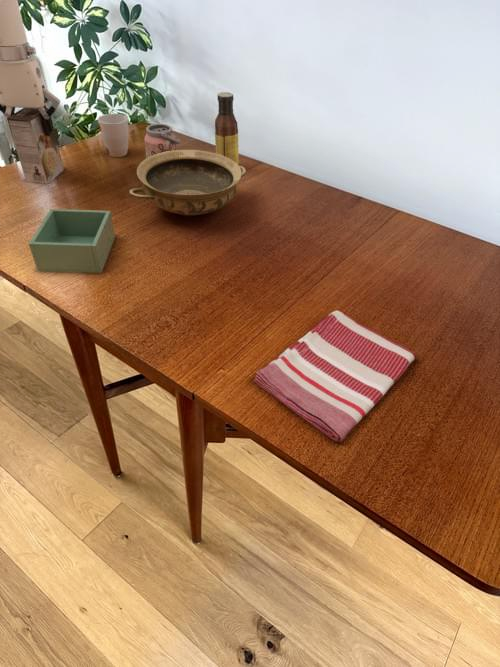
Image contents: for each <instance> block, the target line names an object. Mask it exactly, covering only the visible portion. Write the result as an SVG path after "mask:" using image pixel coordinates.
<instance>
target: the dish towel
mask: <svg viewBox="0 0 500 667" xmlns="http://www.w3.org/2000/svg"><path fill="white" fill-rule="evenodd" d="M416 358H417V356H416V353H415V352H414V351H412V350H411V349H409V348H407V347H405V346H404V345H402V344H400V343H398V342H395V341H393V340H392V339H390V338H388V337H387V336H385V335H383V334H382V333H379V332H377V331H375V330H374V329H372V328H369V327H368V326H367V325H364V324H362V323H359V322H358V321H357V320H355V319H354V318H352V317H350V316H349V315H347V314H345V313H344V312H342V311H340V310H338V309H337V310H334V311H332V312H331V313H330V314H328V315H326V316H325V317H324V318H322V319H321V320H320V321H319V322H318V323H316V325H314V326H313V327H311V329H310V330H309V331H308V332H307V333H306V334H305V335H304V336H302V337H301V338H300V339H298V340H297V341H295V342H294V343H293V344H291V345H290V346H288V347H287V348H286V349H285V350H284V351H283V352H282V353H281V354H279V355H278V356H277V357H276V358H275V359H274V360H272V361H271V362H269V363H268V364H267V365H266V366H264V367H262V368H261V369H259V370H257V371H255V378H254V379H253V383H255V384H256V385H257V386H258V387H259V388H261V389H262V390H264V391H265V392H266V393H267V394H269V395H271V397H273V398H275V399H276V400H277V401H279V402H280V403H281V404H282V405H284V406H285V407H286V408H288V409H289V410H290V411H292V412H293V413H295V415H296V416H299V417H300V418H301V419H304V421H306V422H307V423H309V424H310V425H311V426H312V427H314V428H316V429H317V430H318V431H320V432H321V433H323V434H324V435H325V436H327V437H328V438H329V439H330V440H332V441H334V442H337V443H341V442H342V441H343V440H345V438H346V437H347V435H348V434H349V433H350V432H351V431H352V430H353V429H354V428H355V427H356V426H357V425H358V424H359V422H361V420H362V419H363V418H364V417H365V416H367V414H368V413H369V412H370V411H371V409H373V408H374V407H375V406H376V404H378V402H379V401H381V400H382V398H383V397H384V396H385V394H386V393H387V392H388V391H389V389H390V388H391V387H392V386H393V385H394V384H396V382H397V381H398V380H399V379H400V378H401V377H403V374H405V372H406V371H407V370H408V368H409V367H410V365H411V364H412V363H413V362H414V361H415V360H416Z"/></svg>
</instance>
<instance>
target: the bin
mask: <svg viewBox="0 0 500 667" xmlns="http://www.w3.org/2000/svg"><path fill="white" fill-rule="evenodd" d="M113 222H114V221H113V218H112V212H111V210H99V209H98V210H96V209H95V210H94V209H66V208H65V209H64V208H50V209H49V210H48V212H47V214H46V215H45V216H44V218H43V220H42V221H41V223H40V225H39V226H38V228H37V230H36V231H35V233H33V236H32V238H31V239H30V241H29V242H28V246H29V249H30V252H31V255H32V259H33V262H34V264H35V267H36V271H37V272H57V273H85V274H86V273H91V274H102V272H103V270H104V267H105V265H106V262H107V260H108V257H109V255H110V252H111V249H112V247H113V243H114V241H115V238H116V234H115V228H114V223H113Z"/></svg>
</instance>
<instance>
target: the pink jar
mask: <svg viewBox="0 0 500 667" xmlns="http://www.w3.org/2000/svg"><path fill="white" fill-rule="evenodd" d="M145 131H146V134H145V136H144V139H143V140H144V149H145V159H146V158H148V157H150V156H152V155H155V154H158V153H162V152H166V151H174V150H177V145H180V144H181V139H180V138H179V137H177V136H176V135H175V134H174V133H173V127H172V126H171V125H169V124H166V123H150V125H148V126H146V128H145Z"/></svg>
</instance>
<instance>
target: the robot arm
mask: <svg viewBox="0 0 500 667" xmlns="http://www.w3.org/2000/svg"><path fill="white" fill-rule="evenodd" d="M33 55H37V49H36V47H35V46H34V47H33V46H31V45H30V43H29V41H28V38H27V34H26V30H25V25H24V20H23V18H22V13H21V10H20V6H19V1H18V0H0V112H1V113H2V114H4V116H5V117H6V119H7V118H8V117H9V116H11V115H13V114H14V113H16V112H15V111H16V108H20V109H23V108H37V109H38V110H39V112H40V113H41V114H42V116H43V117H44V119H43V125H44V129H45V133H46V136H50V135H51V134H52V133H53V131H55V128H54V123H53V120H52V116H53V114H54V113H55V112H56V110H57V108H58V107H59V105H60V104H61V100H60V99H59V98H58V97H57V96H56V95H54V94H53V93H51V92H50V91H49V90H48V88H47V85H46V84H47V83H46V81H45V79H44V75H43V72H42V70H41V66H40V65H39V63H38V60H37V58H36V57H32V56H33ZM49 102H50V103H51V105H50V107H49V106H48V104H47V103H49Z"/></svg>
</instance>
